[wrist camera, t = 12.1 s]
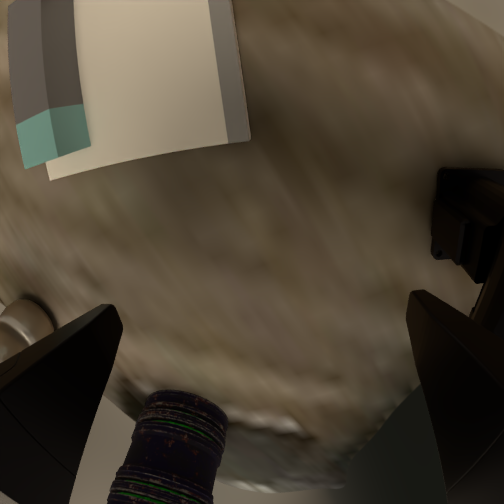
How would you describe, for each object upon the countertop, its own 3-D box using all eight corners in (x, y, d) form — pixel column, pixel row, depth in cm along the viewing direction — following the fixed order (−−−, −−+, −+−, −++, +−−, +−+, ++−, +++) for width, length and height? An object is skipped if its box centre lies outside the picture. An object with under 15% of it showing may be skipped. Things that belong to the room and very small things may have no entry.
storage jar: (230, 441, 34) (209, 549, 20) (154, 428, 35) (120, 526, 21) (227, 397, 29) (198, 535, 16) (137, 381, 30) (84, 500, 17)
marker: (73, -8, 13) (41, -18, 10) (91, 146, 18) (58, 157, 15) (40, 11, 13) (8, 6, 10) (57, 156, 19) (25, 169, 15)
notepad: (222, -58, 12) (219, -65, 11) (251, 139, 18) (249, 140, 17) (36, 15, 14) (27, 14, 13) (57, 177, 20) (49, 180, 19)
